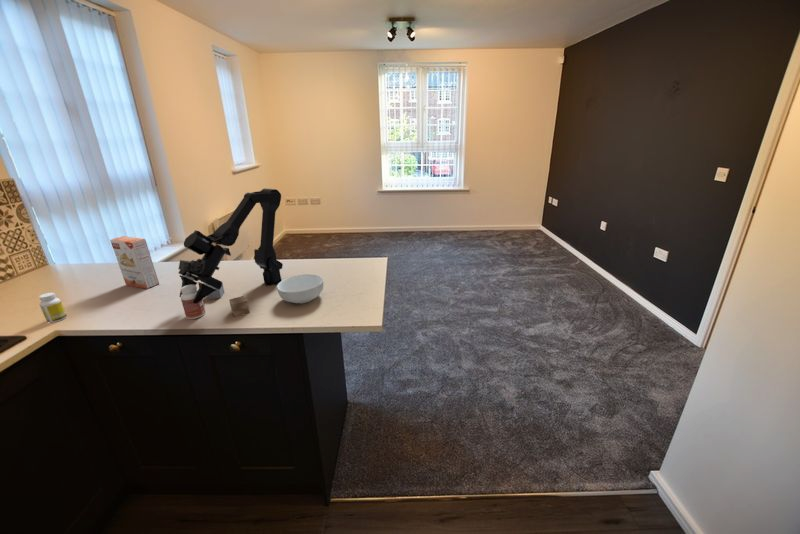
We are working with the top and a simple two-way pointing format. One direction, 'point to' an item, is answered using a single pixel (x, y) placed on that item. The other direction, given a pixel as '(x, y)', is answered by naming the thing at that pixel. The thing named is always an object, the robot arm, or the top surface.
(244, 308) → the walnut cube
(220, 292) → the slate-grey cube
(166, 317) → the top surface
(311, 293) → the cereal bowl
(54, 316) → the supplement bottle
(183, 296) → the pill bottle
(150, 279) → the cracker box
